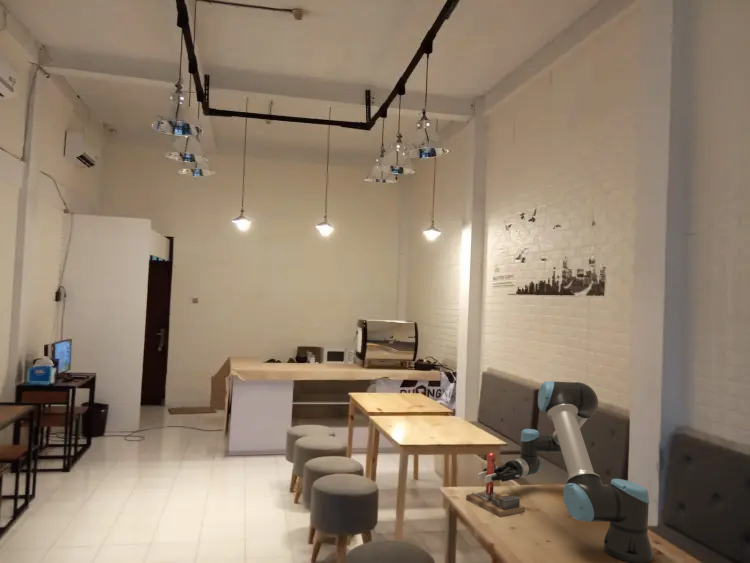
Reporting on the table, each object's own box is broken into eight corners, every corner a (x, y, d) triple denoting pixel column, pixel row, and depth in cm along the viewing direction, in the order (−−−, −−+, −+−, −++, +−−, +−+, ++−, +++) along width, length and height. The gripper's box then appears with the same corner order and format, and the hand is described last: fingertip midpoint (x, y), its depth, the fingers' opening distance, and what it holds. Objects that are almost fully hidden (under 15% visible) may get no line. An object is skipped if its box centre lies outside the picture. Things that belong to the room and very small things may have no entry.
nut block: (509, 505, 217) (509, 494, 217) (501, 506, 215) (502, 496, 215) (501, 501, 220) (502, 491, 220) (494, 503, 218) (495, 492, 218)
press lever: (503, 500, 221) (505, 455, 221) (493, 502, 218) (495, 456, 219) (490, 495, 227) (492, 450, 227) (481, 496, 224) (483, 451, 225)
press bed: (524, 512, 216) (525, 497, 216) (500, 517, 209) (501, 502, 209) (489, 495, 233) (490, 482, 233) (466, 499, 226) (466, 486, 226)
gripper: (531, 483, 230) (497, 493, 214) (500, 472, 242) (466, 482, 226) (532, 465, 230) (498, 474, 215) (500, 455, 242) (466, 463, 227)
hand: (482, 478), depth 220 cm, fingers closed on press lever, 3 cm apart
